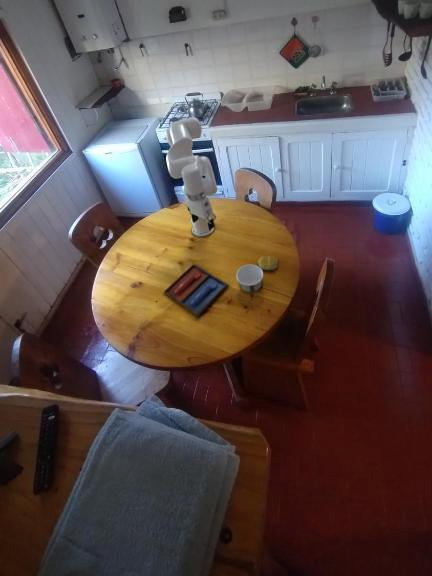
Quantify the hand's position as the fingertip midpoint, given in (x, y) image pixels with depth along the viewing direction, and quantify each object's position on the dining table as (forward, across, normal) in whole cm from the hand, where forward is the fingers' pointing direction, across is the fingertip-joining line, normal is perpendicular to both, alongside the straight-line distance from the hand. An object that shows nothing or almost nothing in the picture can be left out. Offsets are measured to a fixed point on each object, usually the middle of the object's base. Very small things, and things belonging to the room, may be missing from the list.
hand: (203, 224), depth 152 cm
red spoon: (+28, +3, +15) cm, 32 cm away
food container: (+28, -21, -2) cm, 35 cm away
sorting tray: (+28, -2, +15) cm, 32 cm away
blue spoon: (+28, -7, +15) cm, 32 cm away
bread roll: (+28, -21, -16) cm, 39 cm away
